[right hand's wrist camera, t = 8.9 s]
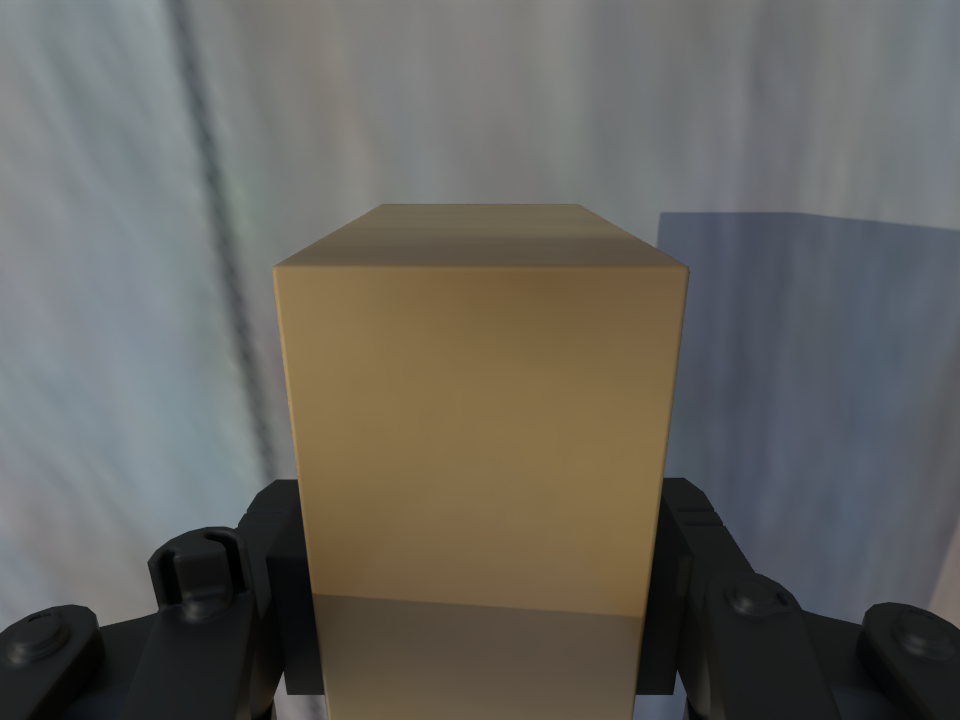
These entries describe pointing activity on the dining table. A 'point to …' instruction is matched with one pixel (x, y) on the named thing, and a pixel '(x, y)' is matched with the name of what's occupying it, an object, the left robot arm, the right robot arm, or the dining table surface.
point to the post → (480, 456)
